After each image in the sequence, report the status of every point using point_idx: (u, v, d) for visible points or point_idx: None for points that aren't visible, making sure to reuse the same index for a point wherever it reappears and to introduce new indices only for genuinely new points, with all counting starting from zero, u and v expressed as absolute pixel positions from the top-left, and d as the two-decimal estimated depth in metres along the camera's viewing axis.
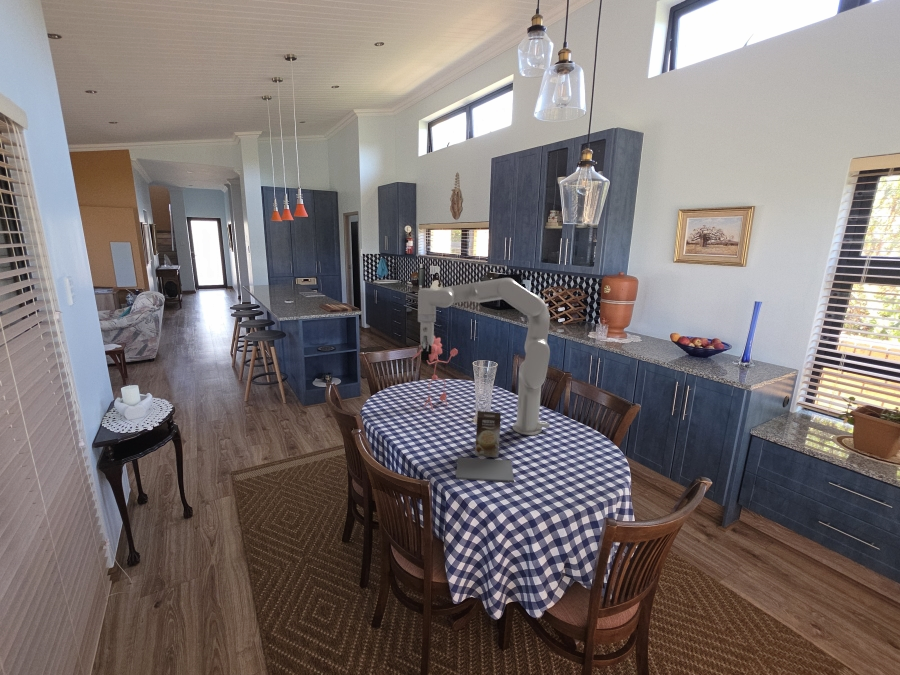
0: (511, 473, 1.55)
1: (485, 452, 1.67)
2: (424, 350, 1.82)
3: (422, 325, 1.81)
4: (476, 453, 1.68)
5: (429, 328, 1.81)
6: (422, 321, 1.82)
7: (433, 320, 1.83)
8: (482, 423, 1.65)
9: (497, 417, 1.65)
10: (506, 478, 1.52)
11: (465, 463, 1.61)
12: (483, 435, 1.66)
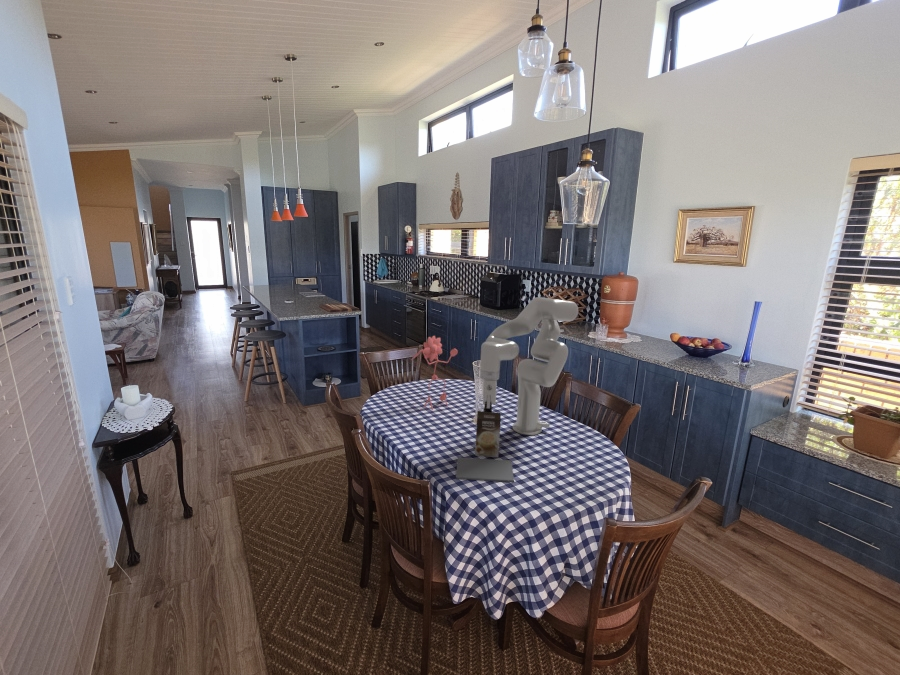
0: (511, 473, 1.55)
1: (485, 452, 1.67)
2: (487, 409, 1.69)
3: (486, 383, 1.65)
4: (476, 453, 1.68)
5: (493, 386, 1.65)
6: (485, 378, 1.65)
7: (497, 377, 1.66)
8: (482, 424, 1.64)
9: (497, 418, 1.64)
10: (506, 478, 1.52)
11: (465, 463, 1.61)
12: (483, 436, 1.65)
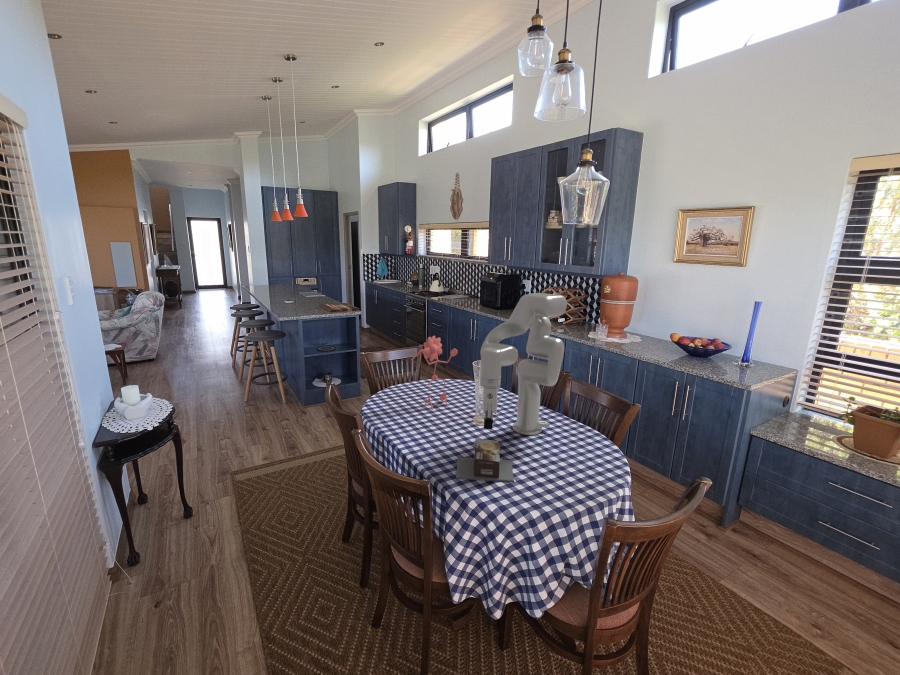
0: (511, 473, 1.55)
1: None
2: (488, 418, 1.61)
3: (486, 391, 1.57)
4: None
5: (494, 395, 1.56)
6: (486, 386, 1.57)
7: (498, 385, 1.58)
8: None
9: (495, 475, 1.52)
10: (506, 478, 1.52)
11: (465, 463, 1.61)
12: None
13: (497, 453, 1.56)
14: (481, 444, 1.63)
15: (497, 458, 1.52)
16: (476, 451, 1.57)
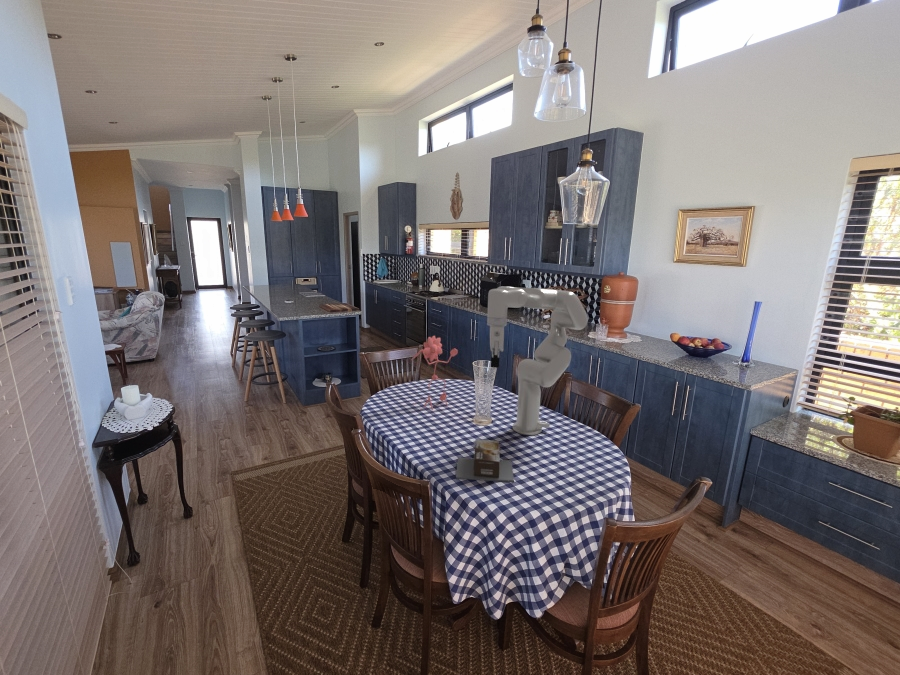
0: (511, 473, 1.55)
1: None
2: (495, 357, 1.70)
3: (493, 329, 1.66)
4: None
5: (501, 332, 1.65)
6: (493, 325, 1.66)
7: (505, 324, 1.67)
8: None
9: (495, 475, 1.52)
10: (506, 478, 1.52)
11: (465, 463, 1.61)
12: None
13: (497, 453, 1.56)
14: (481, 444, 1.63)
15: (497, 458, 1.52)
16: (476, 451, 1.57)
